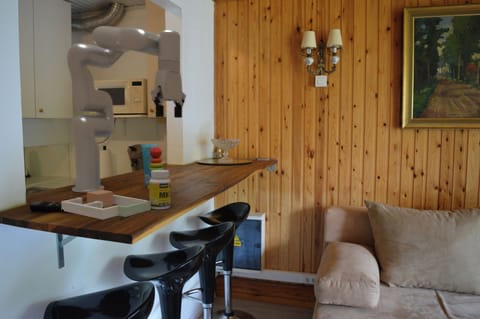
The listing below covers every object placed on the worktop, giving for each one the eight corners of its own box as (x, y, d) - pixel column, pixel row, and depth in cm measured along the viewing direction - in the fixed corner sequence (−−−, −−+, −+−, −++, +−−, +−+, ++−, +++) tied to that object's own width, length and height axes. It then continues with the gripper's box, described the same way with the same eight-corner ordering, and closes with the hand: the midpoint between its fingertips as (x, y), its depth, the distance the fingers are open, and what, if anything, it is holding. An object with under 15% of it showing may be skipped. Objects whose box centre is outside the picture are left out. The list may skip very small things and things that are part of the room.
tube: (157, 184, 172) (157, 143, 170) (158, 185, 168) (158, 144, 166) (141, 184, 170) (141, 143, 168) (142, 186, 165) (141, 144, 163)
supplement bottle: (160, 210, 121) (160, 172, 120) (144, 207, 125) (144, 170, 123) (175, 206, 127) (175, 170, 126) (159, 204, 131) (159, 168, 130)
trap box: (60, 210, 119) (60, 201, 119) (103, 200, 134) (103, 192, 134) (109, 221, 107) (109, 211, 107) (150, 209, 122) (150, 201, 122)
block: (87, 206, 126) (86, 192, 125) (101, 203, 131) (101, 189, 130) (98, 209, 123) (98, 194, 122) (113, 205, 128) (112, 191, 127)
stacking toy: (154, 187, 164) (154, 145, 162) (169, 188, 161) (169, 146, 159) (143, 190, 156) (143, 146, 154) (159, 191, 153) (159, 147, 152)
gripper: (176, 71, 136) (176, 117, 138) (143, 65, 121) (143, 116, 123) (192, 70, 132) (192, 117, 134) (160, 63, 117) (160, 116, 119)
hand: (169, 117), depth 128 cm, fingers open, 9 cm apart
